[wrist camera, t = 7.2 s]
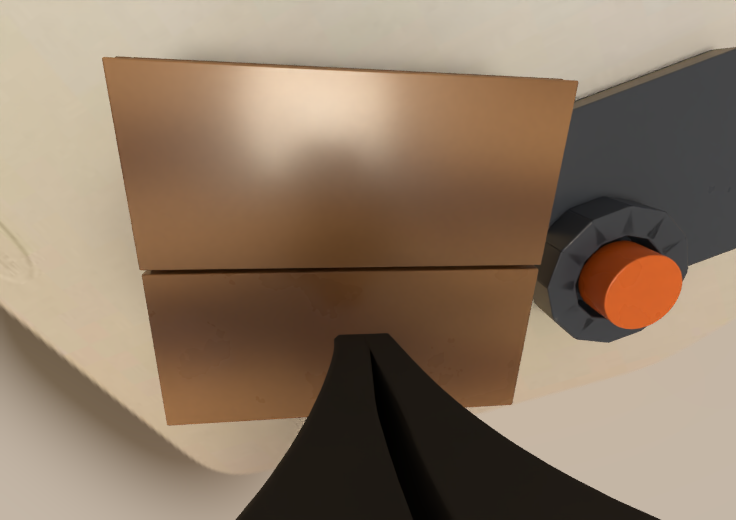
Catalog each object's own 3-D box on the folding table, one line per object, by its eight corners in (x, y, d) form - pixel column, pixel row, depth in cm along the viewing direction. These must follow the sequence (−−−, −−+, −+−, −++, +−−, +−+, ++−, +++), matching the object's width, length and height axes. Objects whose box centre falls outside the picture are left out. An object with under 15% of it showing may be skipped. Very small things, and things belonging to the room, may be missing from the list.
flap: (507, 397, 15) (512, 404, 15) (170, 417, 14) (166, 426, 13) (533, 264, 13) (539, 268, 13) (146, 269, 12) (140, 274, 11)
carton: (456, 320, 20) (513, 406, 15) (209, 327, 19) (165, 428, 13) (488, 84, 17) (582, 77, 11) (179, 69, 15) (97, 53, 9)
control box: (713, 257, 21) (774, 282, 18) (528, 326, 21) (561, 360, 18) (713, 49, 17) (790, 40, 14) (486, 134, 17) (519, 141, 14)
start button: (651, 293, 18) (684, 313, 17) (582, 318, 18) (609, 340, 17) (646, 229, 17) (681, 243, 15) (573, 256, 17) (600, 273, 15)
